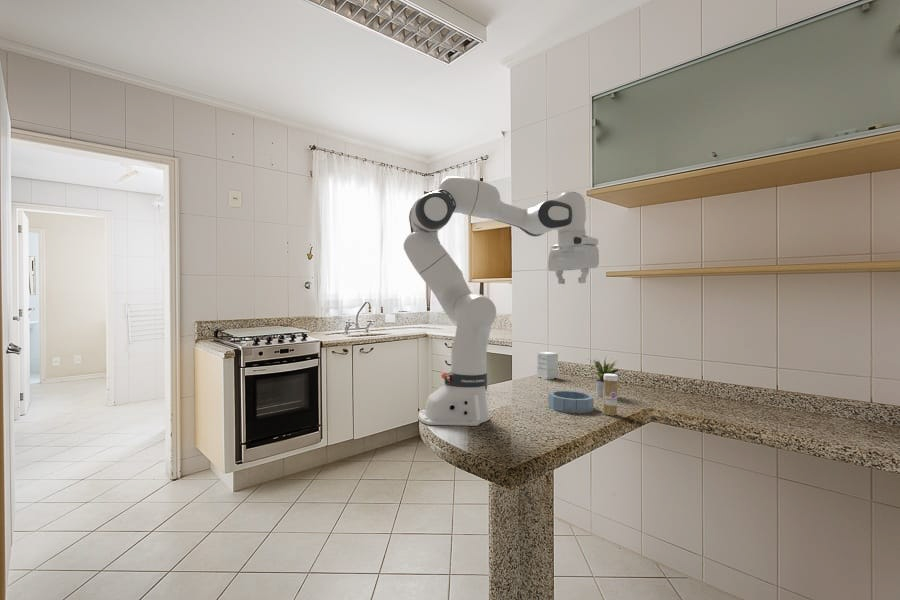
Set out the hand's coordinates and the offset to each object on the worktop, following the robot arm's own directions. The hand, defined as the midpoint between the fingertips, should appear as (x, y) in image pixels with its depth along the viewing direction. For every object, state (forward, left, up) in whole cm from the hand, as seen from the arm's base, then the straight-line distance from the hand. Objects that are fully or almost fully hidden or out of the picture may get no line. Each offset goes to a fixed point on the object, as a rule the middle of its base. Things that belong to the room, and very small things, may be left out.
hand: (571, 283), depth 140 cm
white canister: (+23, +66, -44) cm, 82 cm away
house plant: (+27, +25, -44) cm, 57 cm away
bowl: (+5, +9, -44) cm, 45 cm away
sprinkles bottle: (+14, -1, -44) cm, 46 cm away
